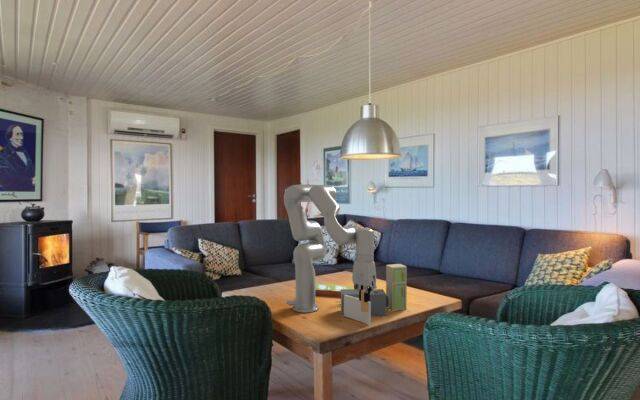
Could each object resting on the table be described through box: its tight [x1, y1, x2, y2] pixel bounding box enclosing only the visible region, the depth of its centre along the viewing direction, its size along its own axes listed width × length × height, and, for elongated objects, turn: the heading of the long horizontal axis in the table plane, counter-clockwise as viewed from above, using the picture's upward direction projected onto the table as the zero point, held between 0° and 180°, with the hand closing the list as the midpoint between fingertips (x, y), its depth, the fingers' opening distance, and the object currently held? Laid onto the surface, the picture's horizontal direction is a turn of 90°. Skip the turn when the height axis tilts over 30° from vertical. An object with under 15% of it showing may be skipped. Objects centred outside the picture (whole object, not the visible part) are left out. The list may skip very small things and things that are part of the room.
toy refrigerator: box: [385, 263, 408, 312], centre depth 193 cm, size 8×7×21 cm
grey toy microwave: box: [340, 288, 389, 317], centre depth 187 cm, size 22×9×11 cm, turn 91°
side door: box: [343, 290, 372, 325], centre depth 175 cm, size 15×3×14 cm, turn 42°
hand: (364, 300), depth 170 cm, fingers closed on side door, 2 cm apart
